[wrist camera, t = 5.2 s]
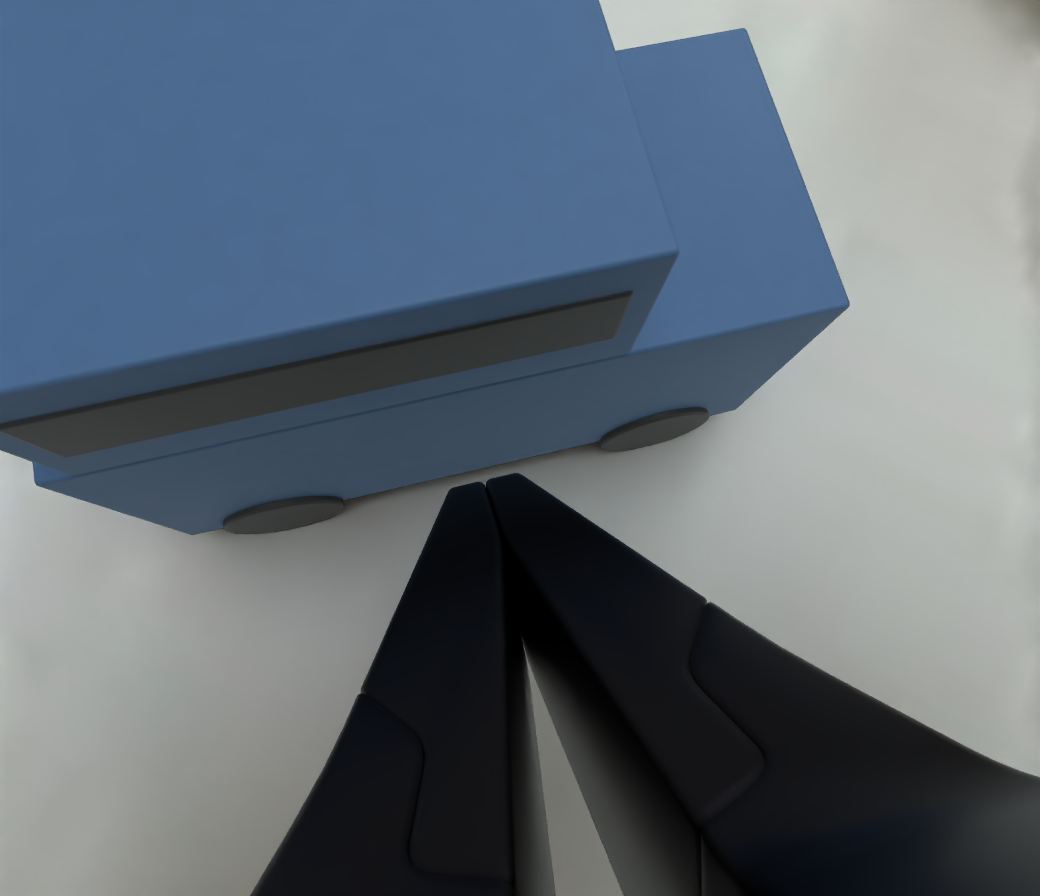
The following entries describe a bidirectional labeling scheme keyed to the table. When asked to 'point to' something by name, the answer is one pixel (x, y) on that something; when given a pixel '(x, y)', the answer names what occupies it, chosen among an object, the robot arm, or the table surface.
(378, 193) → the toy van
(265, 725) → the table surface
